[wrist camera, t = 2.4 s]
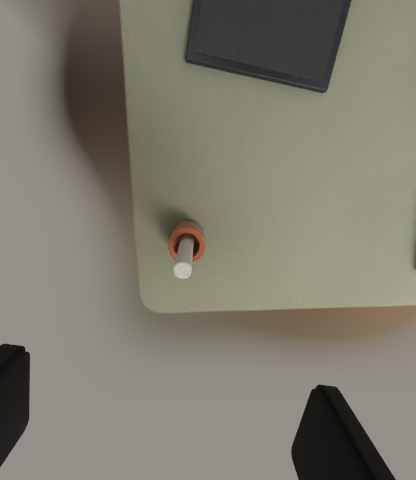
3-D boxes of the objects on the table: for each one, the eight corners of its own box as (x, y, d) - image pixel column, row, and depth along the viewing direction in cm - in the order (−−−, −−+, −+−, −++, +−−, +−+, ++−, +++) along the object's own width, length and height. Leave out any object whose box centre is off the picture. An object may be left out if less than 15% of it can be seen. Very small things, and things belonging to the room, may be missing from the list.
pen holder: (169, 248, 30) (165, 260, 26) (174, 217, 29) (170, 225, 25) (200, 253, 31) (200, 266, 27) (206, 223, 30) (207, 231, 26)
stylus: (180, 242, 30) (171, 277, 20) (182, 230, 29) (174, 260, 20) (192, 244, 30) (189, 280, 20) (194, 232, 29) (193, 263, 20)
